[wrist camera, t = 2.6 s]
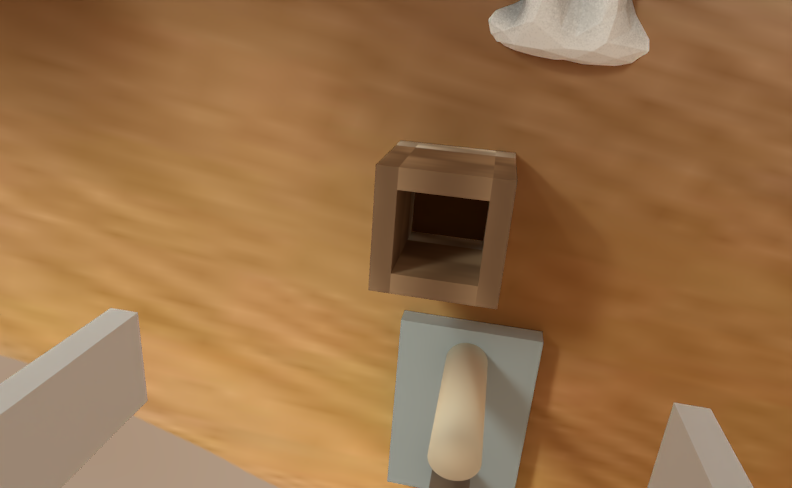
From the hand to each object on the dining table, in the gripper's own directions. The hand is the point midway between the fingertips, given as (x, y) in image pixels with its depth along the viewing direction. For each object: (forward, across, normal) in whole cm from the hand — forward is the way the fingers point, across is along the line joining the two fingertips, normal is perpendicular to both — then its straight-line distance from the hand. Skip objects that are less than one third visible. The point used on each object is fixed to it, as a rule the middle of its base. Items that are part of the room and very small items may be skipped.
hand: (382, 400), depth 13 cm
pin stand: (+18, +2, -13) cm, 22 cm away
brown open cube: (+18, 0, 0) cm, 18 cm away
